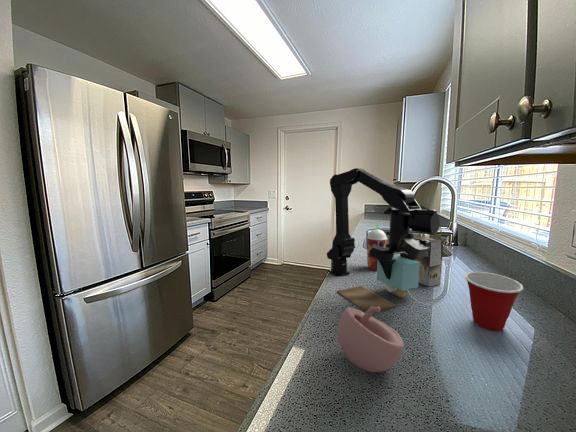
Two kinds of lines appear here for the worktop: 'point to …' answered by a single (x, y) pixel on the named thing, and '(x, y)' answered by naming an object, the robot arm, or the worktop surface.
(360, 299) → the walnut board
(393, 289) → the white egg
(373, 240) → the smoothie
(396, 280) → the light blue block
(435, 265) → the coffee box
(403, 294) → the amber egg
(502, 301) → the plastic cup
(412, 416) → the worktop surface
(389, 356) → the mortar and pestle
